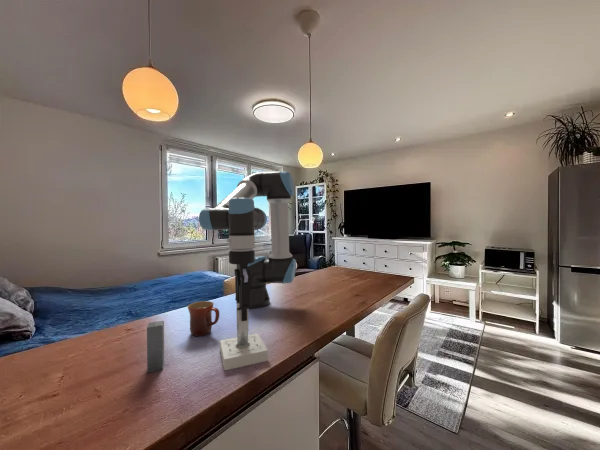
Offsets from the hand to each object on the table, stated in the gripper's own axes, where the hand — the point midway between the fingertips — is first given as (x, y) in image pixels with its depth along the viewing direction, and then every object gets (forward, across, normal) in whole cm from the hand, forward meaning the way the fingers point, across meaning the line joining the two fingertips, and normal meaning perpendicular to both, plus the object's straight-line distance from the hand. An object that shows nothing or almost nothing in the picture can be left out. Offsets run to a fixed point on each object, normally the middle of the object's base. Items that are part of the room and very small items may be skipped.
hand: (242, 328), depth 74 cm
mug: (+8, -21, -10) cm, 25 cm away
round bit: (+4, 0, 0) cm, 4 cm away
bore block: (+8, 0, 0) cm, 8 cm away
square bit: (+8, -3, -23) cm, 24 cm away
